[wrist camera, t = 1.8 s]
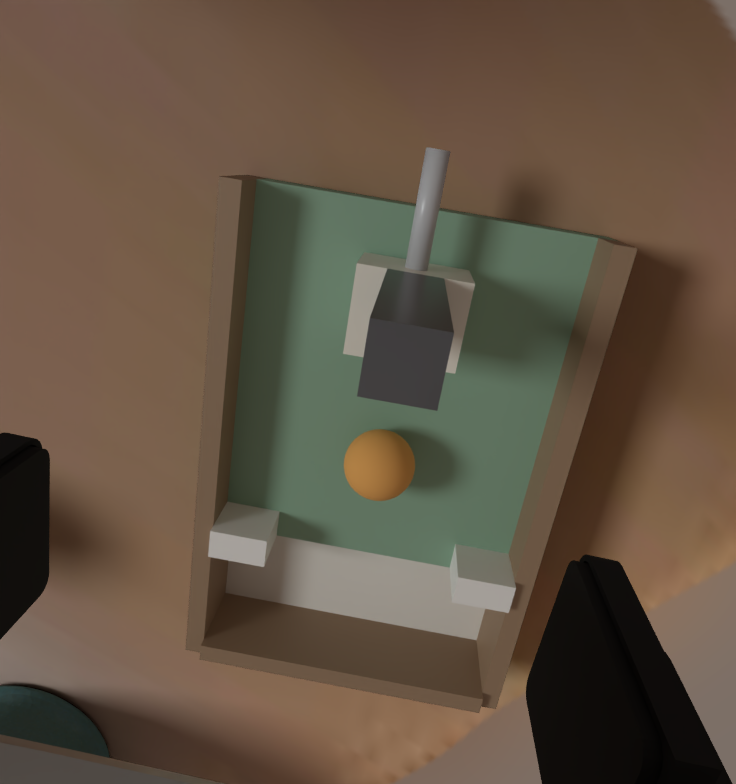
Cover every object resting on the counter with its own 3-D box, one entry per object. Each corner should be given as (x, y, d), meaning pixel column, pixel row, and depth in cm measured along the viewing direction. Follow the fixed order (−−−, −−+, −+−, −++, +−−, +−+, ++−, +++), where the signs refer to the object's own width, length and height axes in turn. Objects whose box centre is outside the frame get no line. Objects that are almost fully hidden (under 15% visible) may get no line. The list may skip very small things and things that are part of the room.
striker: (381, 141, 28) (350, 122, 16) (492, 160, 27) (545, 155, 16) (351, 333, 31) (306, 437, 19) (451, 350, 31) (469, 467, 19)
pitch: (247, 174, 31) (215, 176, 26) (608, 237, 30) (641, 250, 26) (210, 598, 40) (182, 656, 35) (488, 650, 39) (496, 716, 35)
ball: (353, 412, 32) (345, 441, 29) (421, 424, 32) (421, 455, 29) (343, 473, 34) (334, 507, 30) (408, 485, 34) (407, 520, 30)
